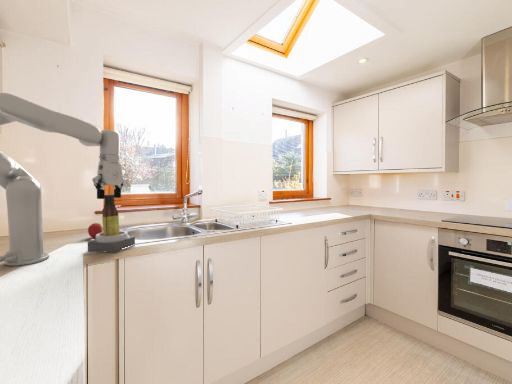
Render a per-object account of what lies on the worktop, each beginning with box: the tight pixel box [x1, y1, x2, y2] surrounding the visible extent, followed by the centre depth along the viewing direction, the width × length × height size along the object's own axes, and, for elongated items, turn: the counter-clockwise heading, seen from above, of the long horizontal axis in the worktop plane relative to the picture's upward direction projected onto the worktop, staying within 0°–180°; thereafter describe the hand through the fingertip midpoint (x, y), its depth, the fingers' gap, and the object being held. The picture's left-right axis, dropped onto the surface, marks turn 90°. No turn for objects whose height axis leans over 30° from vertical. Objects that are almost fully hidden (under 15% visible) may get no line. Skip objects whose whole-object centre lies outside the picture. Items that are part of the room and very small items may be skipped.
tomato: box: [87, 222, 103, 239], centre depth 136 cm, size 8×8×8 cm
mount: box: [87, 230, 136, 254], centre depth 115 cm, size 13×13×6 cm
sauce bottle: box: [101, 194, 121, 236], centre depth 114 cm, size 7×6×20 cm
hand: (109, 198), depth 114 cm, fingers open, 9 cm apart
